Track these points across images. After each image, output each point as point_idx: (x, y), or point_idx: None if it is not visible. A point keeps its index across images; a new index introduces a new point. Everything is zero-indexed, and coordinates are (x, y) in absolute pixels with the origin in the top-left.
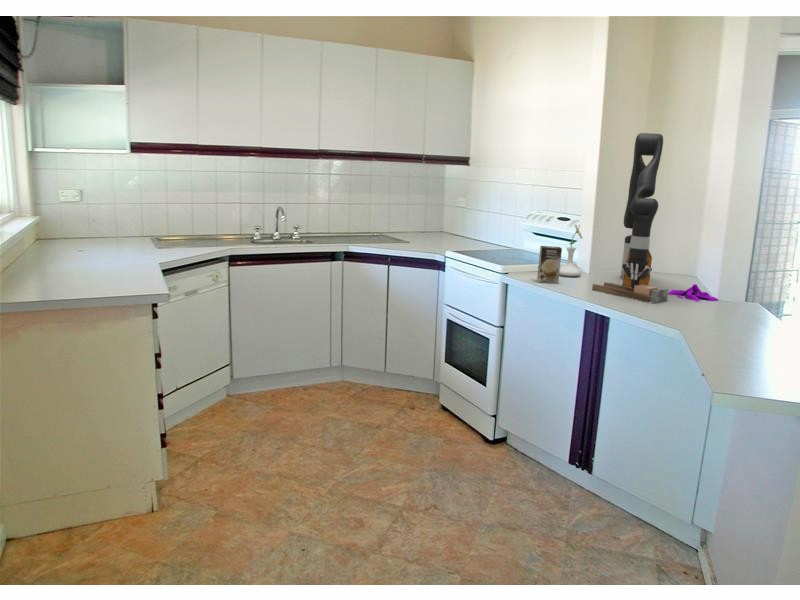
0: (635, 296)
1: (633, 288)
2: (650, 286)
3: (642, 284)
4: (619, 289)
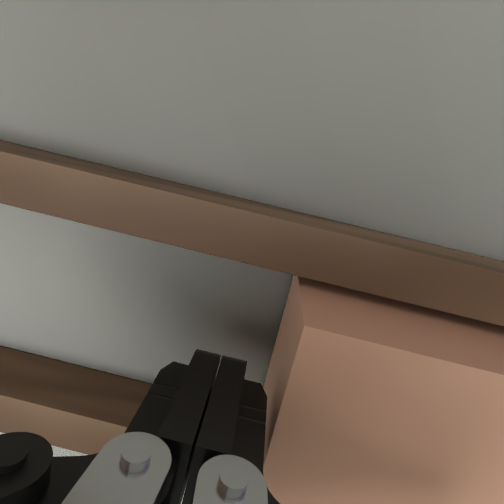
0: None
1: (153, 223)
2: (472, 416)
3: (304, 342)
4: (71, 427)
